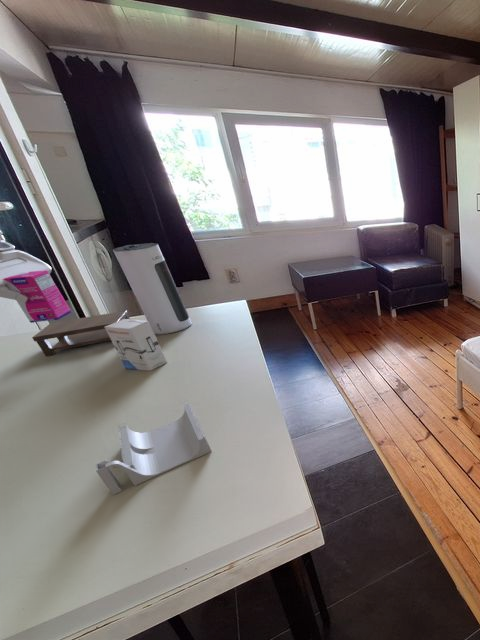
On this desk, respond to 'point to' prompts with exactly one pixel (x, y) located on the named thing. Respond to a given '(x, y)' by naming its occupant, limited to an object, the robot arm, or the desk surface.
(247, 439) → the desk surface
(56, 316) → the supplement box
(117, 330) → the ink box
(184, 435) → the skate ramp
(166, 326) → the speaker
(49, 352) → the rack
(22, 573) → the desk surface
